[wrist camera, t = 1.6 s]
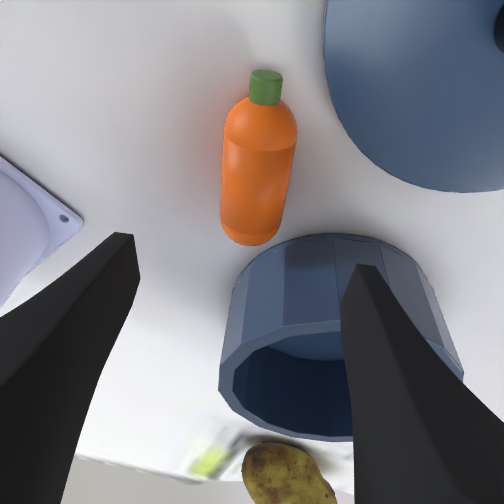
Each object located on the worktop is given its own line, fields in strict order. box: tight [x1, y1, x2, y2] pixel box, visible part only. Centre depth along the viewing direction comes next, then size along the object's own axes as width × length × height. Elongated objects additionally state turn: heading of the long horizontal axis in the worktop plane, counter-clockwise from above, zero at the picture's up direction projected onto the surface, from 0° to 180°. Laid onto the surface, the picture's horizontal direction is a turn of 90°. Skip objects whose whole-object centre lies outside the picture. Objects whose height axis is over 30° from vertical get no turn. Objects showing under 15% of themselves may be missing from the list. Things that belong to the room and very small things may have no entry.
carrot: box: [220, 70, 297, 246], centre depth 16 cm, size 8×3×3 cm, turn 175°
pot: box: [218, 234, 464, 442], centre depth 22 cm, size 13×13×6 cm
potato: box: [241, 442, 337, 504], centre depth 39 cm, size 8×13×8 cm, turn 21°
